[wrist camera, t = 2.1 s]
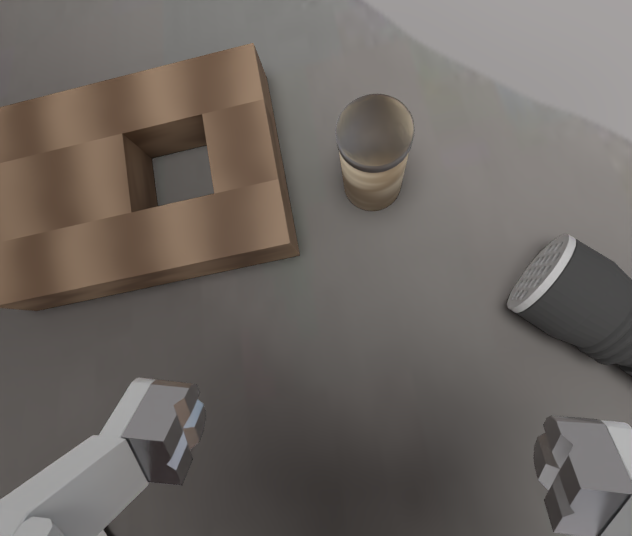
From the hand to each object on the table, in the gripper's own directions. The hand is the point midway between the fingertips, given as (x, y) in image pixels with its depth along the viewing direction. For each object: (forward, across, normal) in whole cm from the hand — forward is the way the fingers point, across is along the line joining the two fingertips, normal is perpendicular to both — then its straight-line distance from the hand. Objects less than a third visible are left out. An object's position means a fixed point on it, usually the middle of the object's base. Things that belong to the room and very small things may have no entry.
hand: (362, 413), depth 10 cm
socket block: (+21, +17, +5) cm, 27 cm away
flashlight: (+15, -16, +12) cm, 25 cm away
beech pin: (+22, 0, +4) cm, 22 cm away
